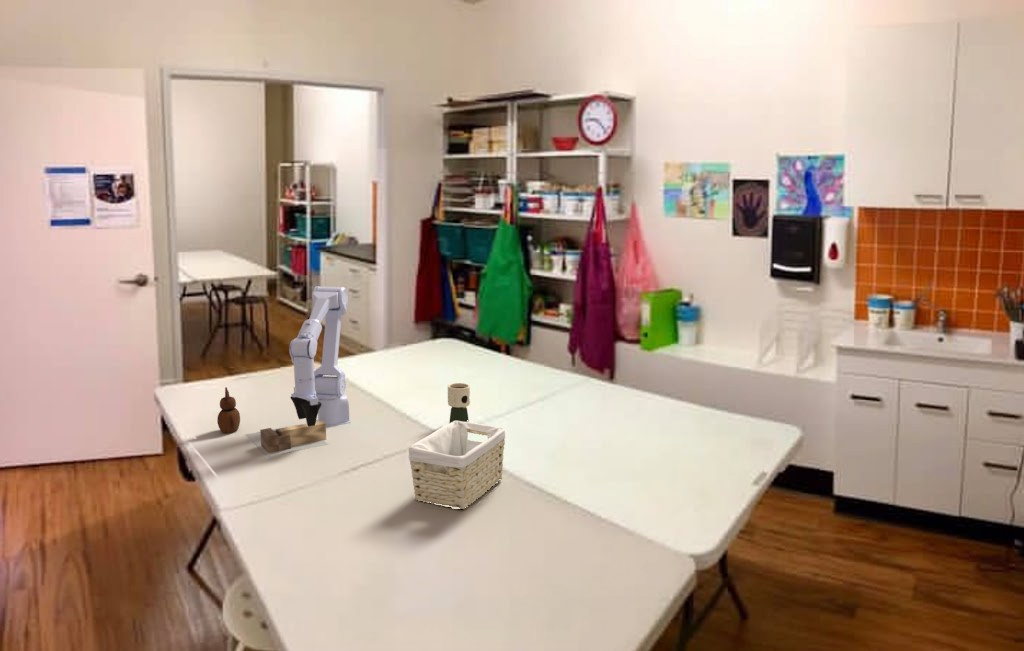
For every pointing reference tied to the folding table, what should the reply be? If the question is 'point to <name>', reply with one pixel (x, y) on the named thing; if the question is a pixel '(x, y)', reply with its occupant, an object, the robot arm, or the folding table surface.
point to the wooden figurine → (228, 414)
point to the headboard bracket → (274, 441)
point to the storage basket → (456, 464)
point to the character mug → (458, 401)
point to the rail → (304, 433)
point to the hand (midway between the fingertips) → (306, 422)
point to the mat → (257, 440)
